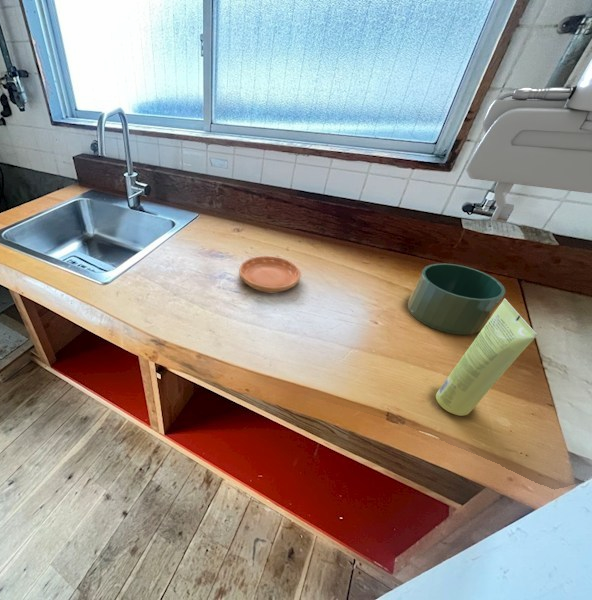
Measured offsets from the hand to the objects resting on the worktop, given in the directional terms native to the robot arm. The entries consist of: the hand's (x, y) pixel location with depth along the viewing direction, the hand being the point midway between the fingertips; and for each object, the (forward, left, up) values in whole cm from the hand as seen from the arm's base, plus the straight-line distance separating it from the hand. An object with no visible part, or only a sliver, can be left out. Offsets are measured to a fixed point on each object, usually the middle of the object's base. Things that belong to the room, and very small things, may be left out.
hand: (550, 228), depth 37 cm
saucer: (+43, -10, -31) cm, 54 cm away
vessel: (+6, -25, -31) cm, 40 cm away
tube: (-2, +1, -31) cm, 31 cm away
